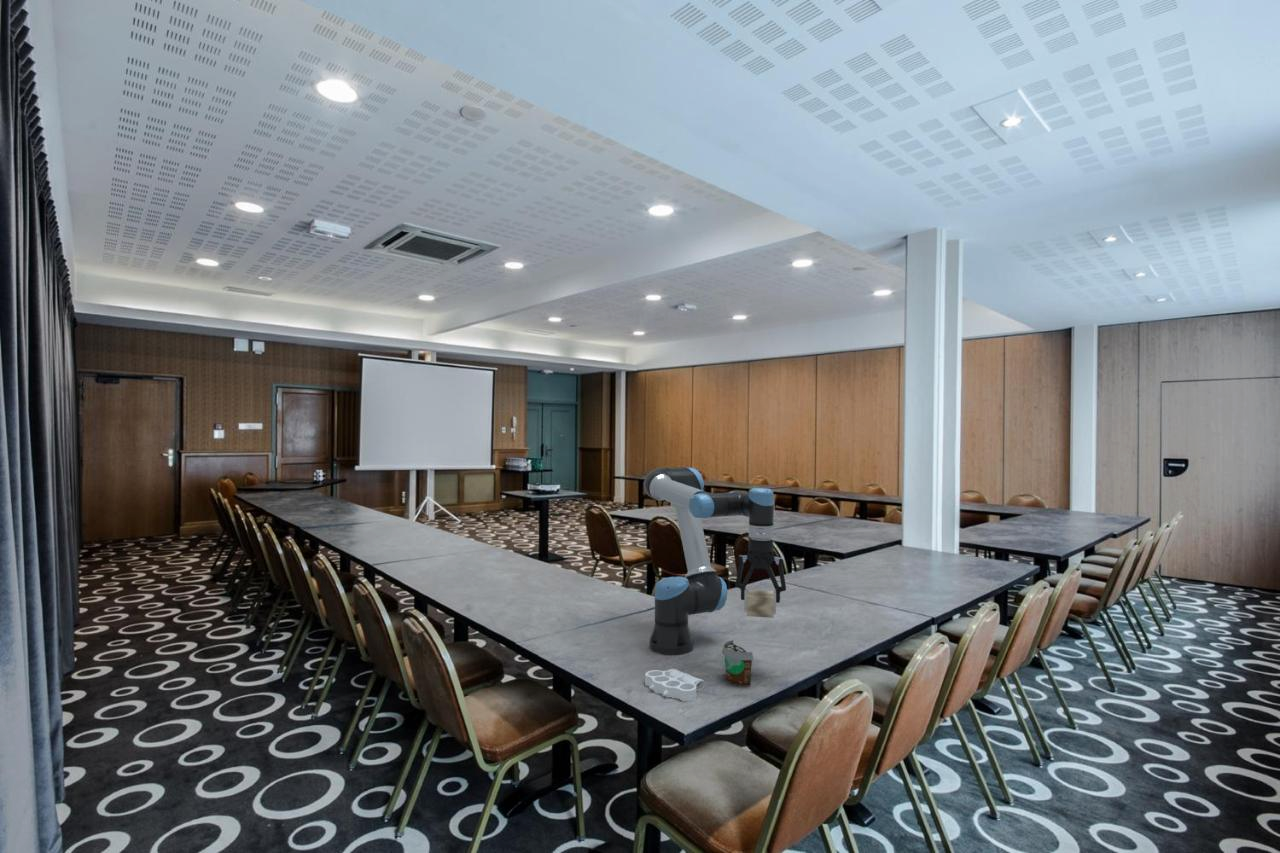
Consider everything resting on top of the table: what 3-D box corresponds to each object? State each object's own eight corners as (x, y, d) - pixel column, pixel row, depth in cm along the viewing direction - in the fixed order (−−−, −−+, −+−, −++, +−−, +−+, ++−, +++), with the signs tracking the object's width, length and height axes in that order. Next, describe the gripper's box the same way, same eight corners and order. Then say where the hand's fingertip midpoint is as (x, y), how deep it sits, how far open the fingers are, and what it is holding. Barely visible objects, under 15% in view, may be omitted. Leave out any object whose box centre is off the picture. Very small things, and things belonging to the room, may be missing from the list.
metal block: (746, 616, 186) (746, 596, 186) (747, 608, 193) (747, 589, 193) (773, 617, 184) (773, 598, 184) (773, 610, 192) (773, 591, 192)
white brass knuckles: (714, 692, 175) (679, 707, 165) (668, 674, 188) (634, 687, 178) (714, 680, 175) (679, 695, 165) (669, 663, 188) (634, 676, 178)
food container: (714, 674, 187) (714, 641, 187) (732, 671, 189) (732, 639, 190) (734, 690, 176) (734, 655, 176) (753, 687, 178) (753, 652, 178)
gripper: (725, 538, 188) (725, 612, 188) (795, 542, 183) (794, 618, 183) (728, 534, 195) (727, 605, 195) (795, 538, 190) (795, 611, 190)
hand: (760, 611), depth 189 cm, fingers closed on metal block, 8 cm apart
